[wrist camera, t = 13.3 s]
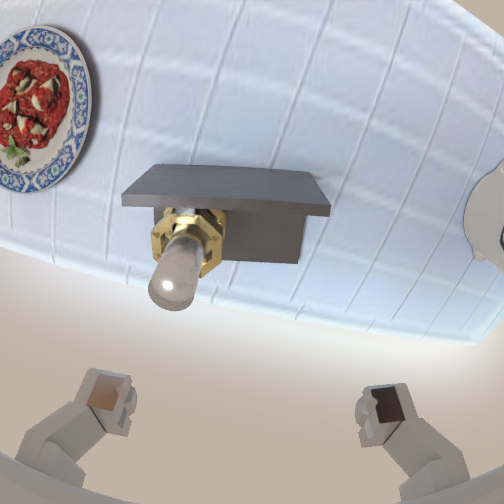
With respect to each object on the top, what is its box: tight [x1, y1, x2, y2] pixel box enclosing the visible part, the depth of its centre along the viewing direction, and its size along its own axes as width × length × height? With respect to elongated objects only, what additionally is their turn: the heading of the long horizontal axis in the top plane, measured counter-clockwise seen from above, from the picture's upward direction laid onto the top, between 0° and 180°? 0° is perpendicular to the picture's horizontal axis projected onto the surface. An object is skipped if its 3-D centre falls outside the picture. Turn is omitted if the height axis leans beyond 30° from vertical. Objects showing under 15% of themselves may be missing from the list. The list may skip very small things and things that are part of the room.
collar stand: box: [121, 165, 331, 278], centre depth 37 cm, size 20×13×12 cm, turn 86°
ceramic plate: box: [0, 25, 92, 195], centre depth 32 cm, size 26×26×3 cm
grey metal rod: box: [148, 209, 214, 311], centre depth 33 cm, size 4×4×17 cm
